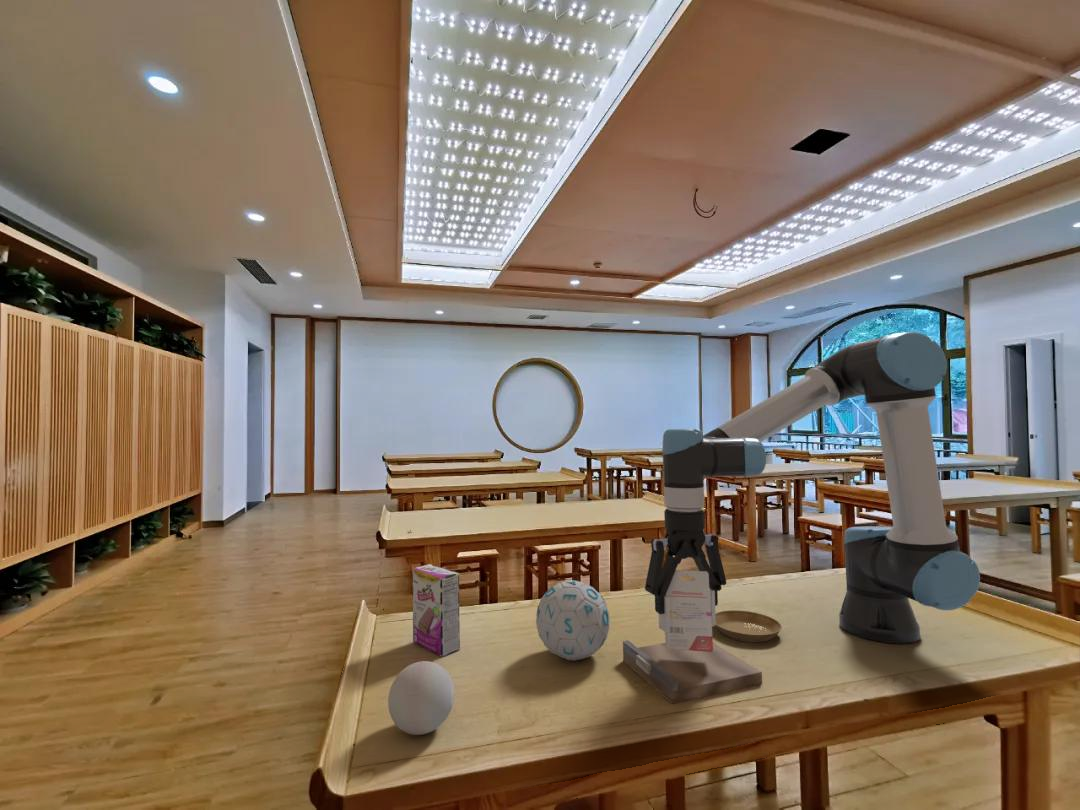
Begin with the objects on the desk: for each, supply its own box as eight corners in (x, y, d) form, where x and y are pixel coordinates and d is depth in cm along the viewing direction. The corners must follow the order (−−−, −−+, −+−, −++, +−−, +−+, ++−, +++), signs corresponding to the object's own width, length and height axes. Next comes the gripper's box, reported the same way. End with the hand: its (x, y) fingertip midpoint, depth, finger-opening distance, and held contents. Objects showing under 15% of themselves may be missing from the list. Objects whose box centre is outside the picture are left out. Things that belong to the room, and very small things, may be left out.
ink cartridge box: (709, 641, 98) (707, 564, 99) (713, 652, 93) (710, 572, 94) (664, 638, 100) (662, 563, 100) (665, 649, 95) (663, 570, 96)
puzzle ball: (557, 680, 94) (555, 598, 94) (525, 649, 107) (523, 577, 108) (625, 663, 100) (623, 586, 101) (586, 635, 114) (585, 568, 114)
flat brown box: (702, 645, 107) (702, 627, 108) (762, 683, 91) (761, 661, 91) (620, 661, 101) (620, 641, 101) (668, 704, 85) (668, 681, 85)
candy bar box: (411, 643, 111) (411, 567, 112) (430, 636, 115) (429, 563, 116) (441, 658, 104) (441, 577, 104) (461, 650, 107) (460, 572, 108)
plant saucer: (738, 616, 124) (737, 605, 124) (796, 636, 112) (795, 624, 112) (698, 630, 116) (697, 618, 116) (755, 653, 104) (755, 640, 104)
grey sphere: (396, 713, 84) (396, 651, 84) (458, 710, 84) (457, 649, 85) (380, 751, 74) (380, 681, 74) (450, 748, 74) (450, 678, 75)
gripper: (718, 502, 105) (722, 612, 104) (623, 509, 98) (626, 627, 97) (744, 507, 98) (748, 625, 97) (644, 515, 91) (647, 643, 89)
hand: (687, 626), depth 97 cm, fingers closed on ink cartridge box, 9 cm apart
